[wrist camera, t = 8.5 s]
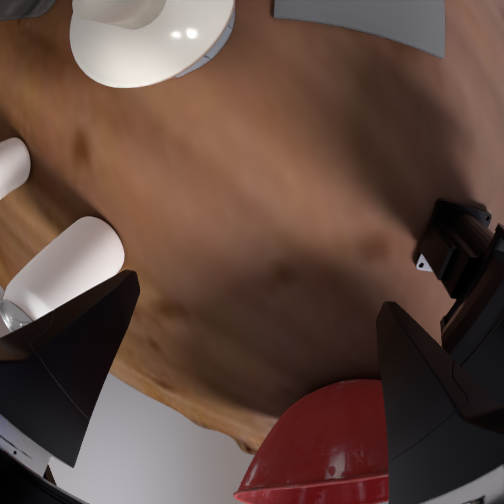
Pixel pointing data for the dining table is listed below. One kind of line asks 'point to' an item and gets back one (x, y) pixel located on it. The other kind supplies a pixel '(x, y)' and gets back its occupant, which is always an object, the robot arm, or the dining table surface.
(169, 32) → the lid
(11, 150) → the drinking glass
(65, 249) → the can
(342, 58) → the dining table surface
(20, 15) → the beverage cup
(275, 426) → the mixing bowl
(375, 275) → the dining table surface
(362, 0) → the mat
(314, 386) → the dining table surface
